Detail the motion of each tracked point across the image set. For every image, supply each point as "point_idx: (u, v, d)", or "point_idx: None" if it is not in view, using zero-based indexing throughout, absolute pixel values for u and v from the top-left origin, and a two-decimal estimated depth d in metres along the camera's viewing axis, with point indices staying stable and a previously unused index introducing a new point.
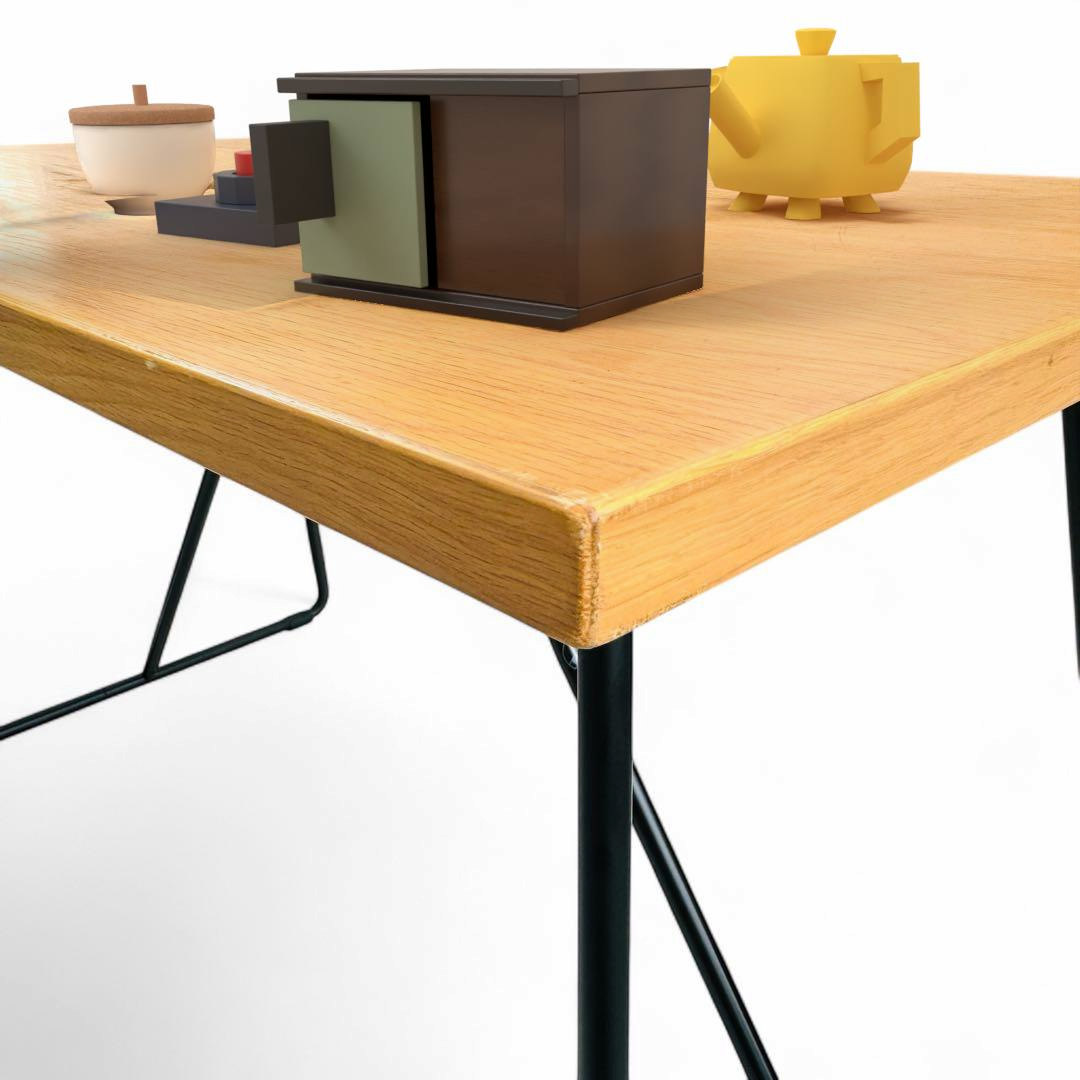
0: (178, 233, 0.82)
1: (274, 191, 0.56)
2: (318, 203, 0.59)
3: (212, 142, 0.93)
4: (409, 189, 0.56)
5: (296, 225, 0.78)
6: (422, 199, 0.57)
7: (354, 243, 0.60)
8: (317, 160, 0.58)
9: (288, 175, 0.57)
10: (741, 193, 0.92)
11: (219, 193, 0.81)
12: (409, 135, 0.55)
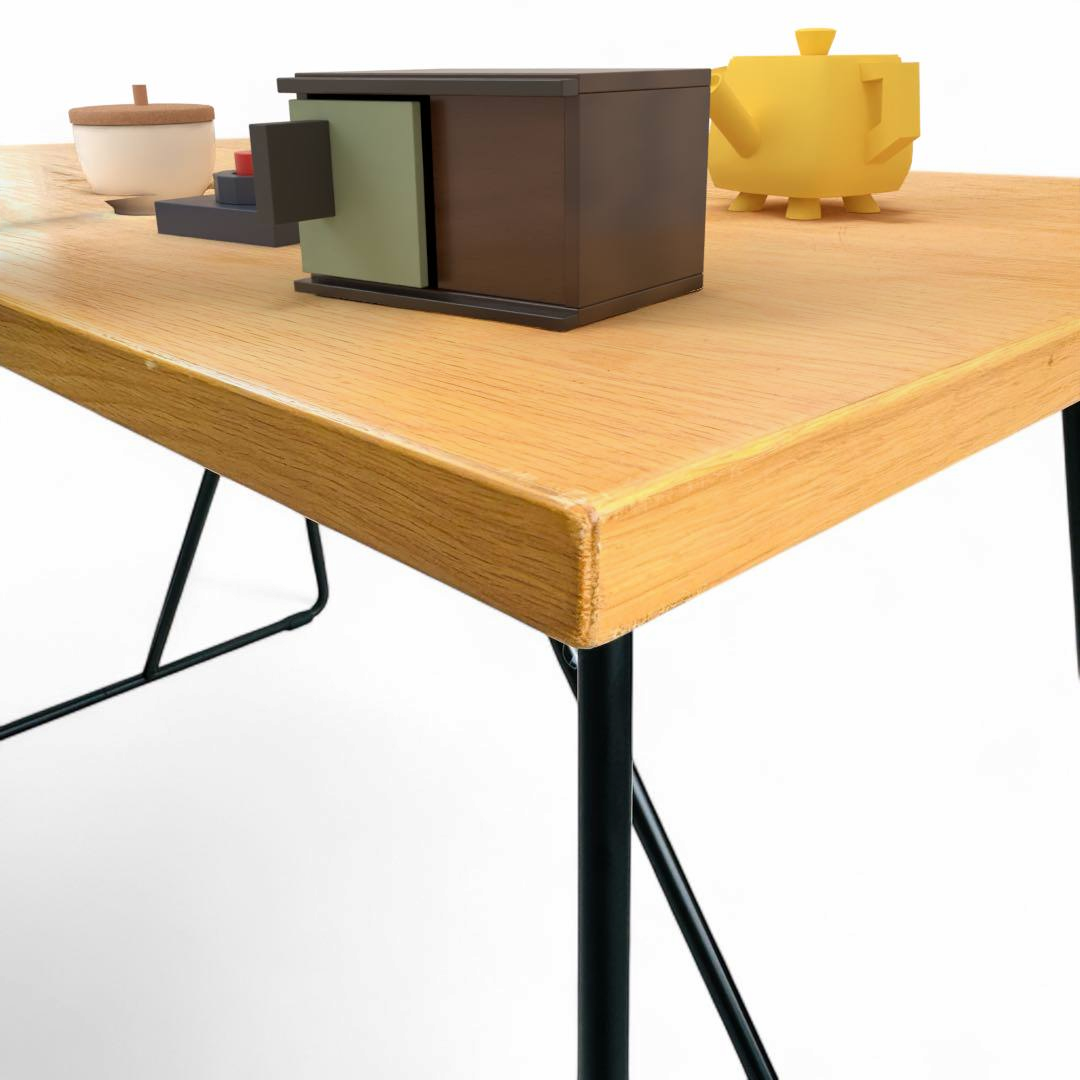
0: (178, 233, 0.82)
1: (274, 191, 0.56)
2: (318, 203, 0.59)
3: (211, 142, 0.93)
4: (409, 189, 0.56)
5: (296, 225, 0.78)
6: (422, 199, 0.57)
7: (354, 243, 0.60)
8: (317, 160, 0.58)
9: (288, 175, 0.57)
10: (741, 193, 0.92)
11: (219, 193, 0.81)
12: (409, 135, 0.55)
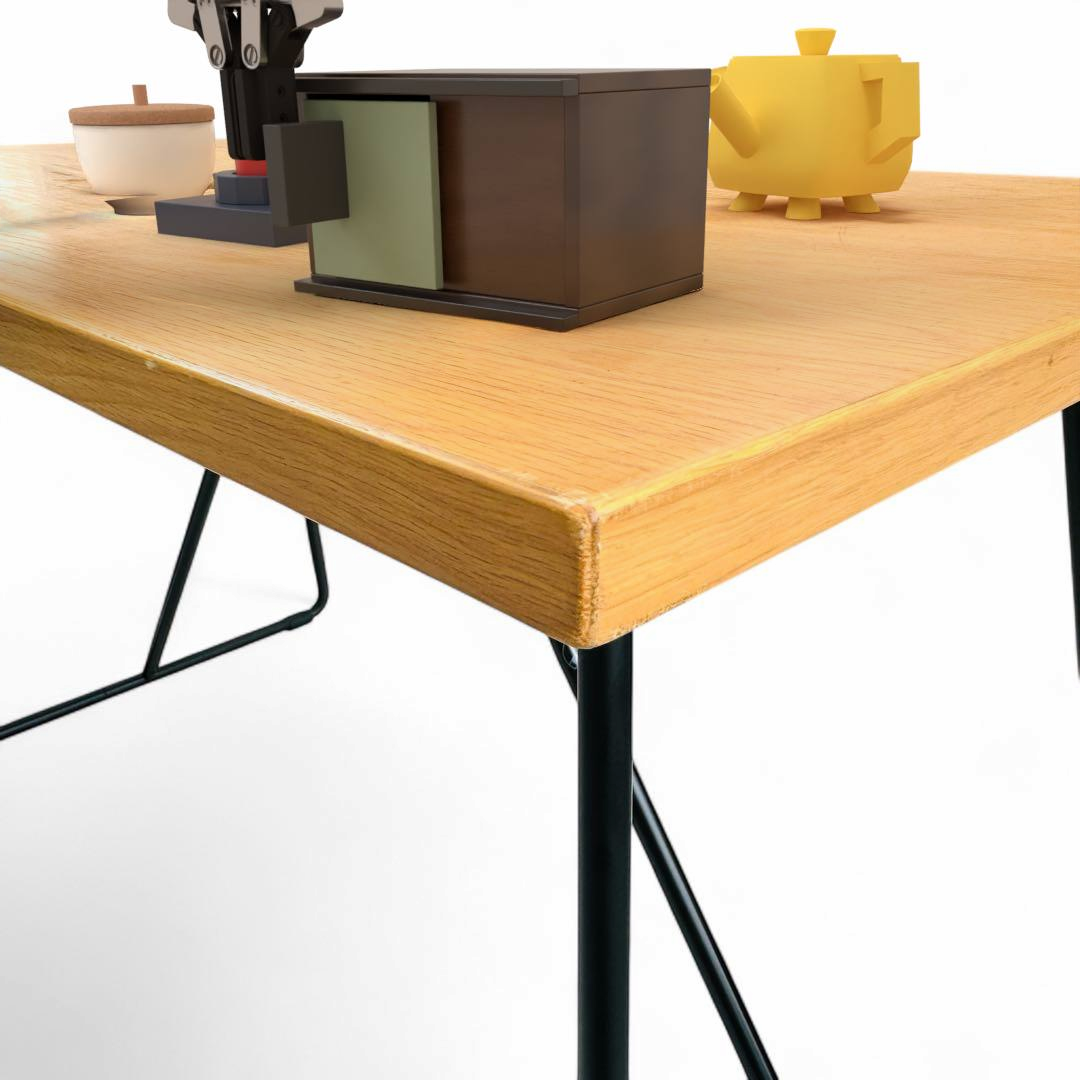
0: (178, 233, 0.82)
1: (288, 192, 0.56)
2: (332, 204, 0.58)
3: (211, 142, 0.93)
4: (425, 190, 0.56)
5: None
6: (437, 200, 0.56)
7: (368, 245, 0.59)
8: (331, 161, 0.58)
9: (302, 176, 0.56)
10: (741, 193, 0.92)
11: (219, 193, 0.81)
12: (425, 136, 0.55)
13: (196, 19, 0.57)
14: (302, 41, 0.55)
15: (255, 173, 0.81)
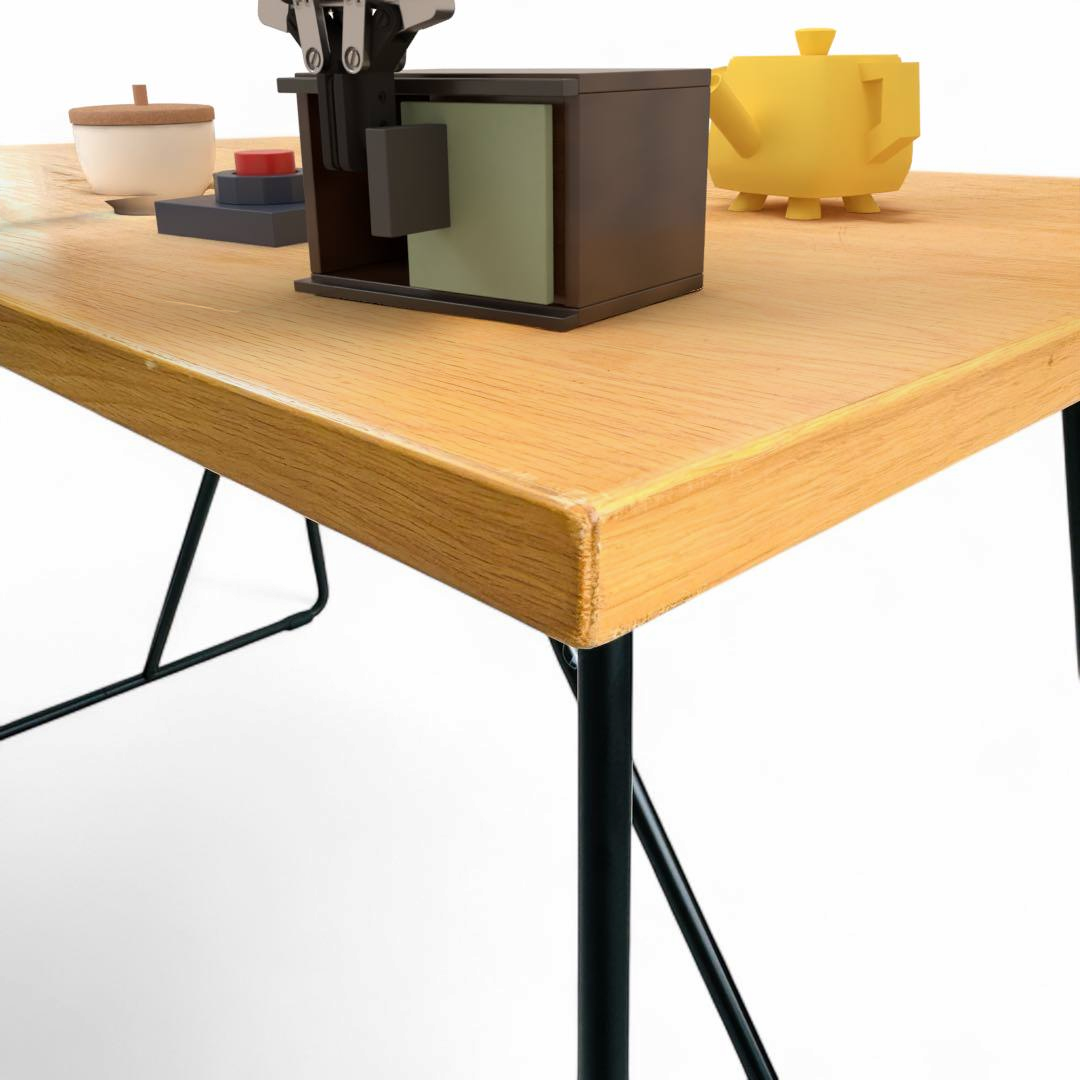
0: (178, 233, 0.82)
1: (391, 201, 0.52)
2: (434, 213, 0.55)
3: (211, 142, 0.93)
4: (538, 199, 0.52)
5: (296, 225, 0.78)
6: (551, 209, 0.52)
7: (471, 256, 0.55)
8: (434, 167, 0.54)
9: (405, 183, 0.53)
10: (741, 193, 0.92)
11: (219, 193, 0.81)
12: (540, 140, 0.51)
13: (291, 20, 0.53)
14: (407, 44, 0.52)
15: (255, 173, 0.81)
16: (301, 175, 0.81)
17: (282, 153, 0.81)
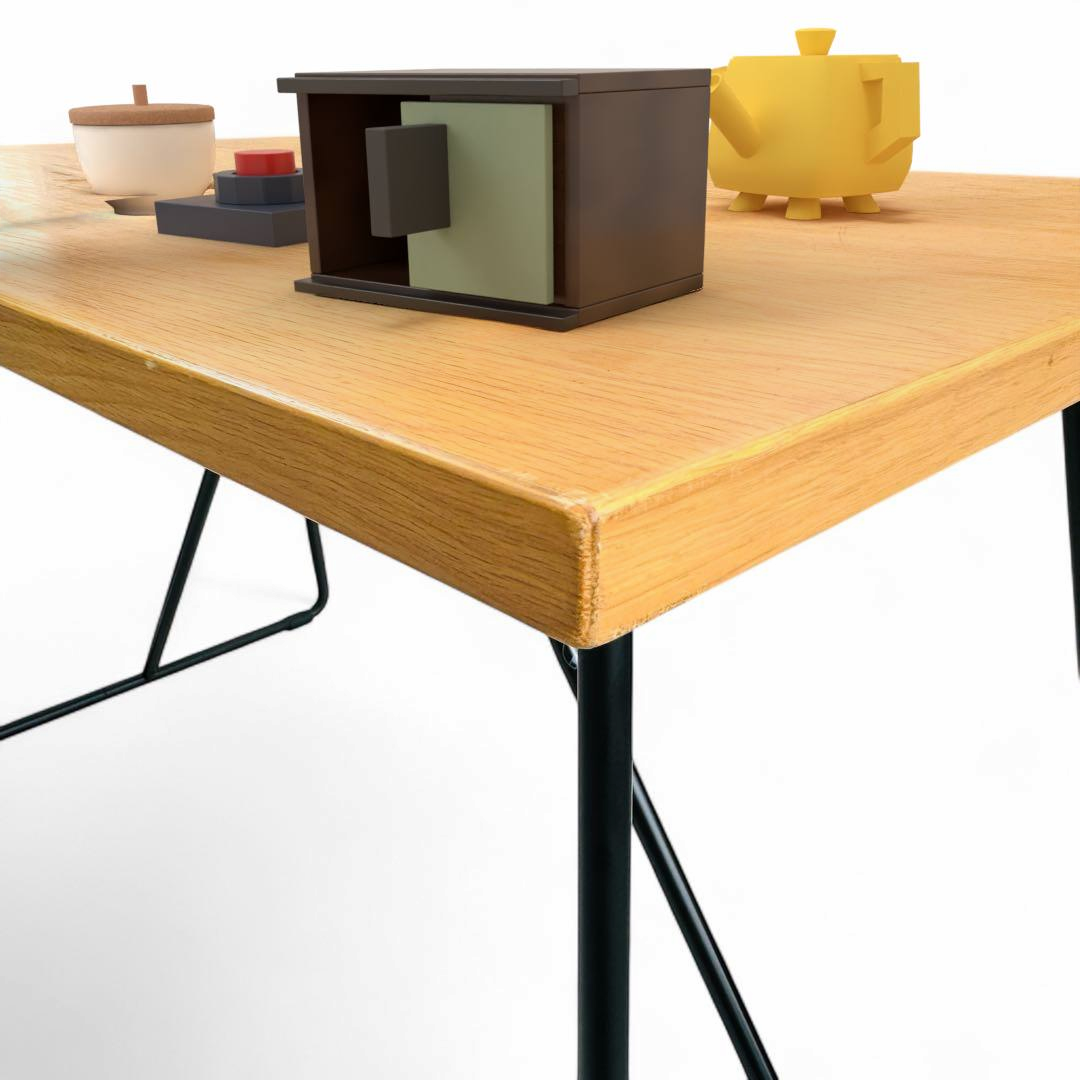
0: (178, 233, 0.82)
1: (391, 201, 0.52)
2: (434, 213, 0.55)
3: (211, 142, 0.93)
4: (538, 199, 0.52)
5: (296, 225, 0.78)
6: (551, 209, 0.52)
7: (471, 256, 0.55)
8: (434, 167, 0.54)
9: (405, 183, 0.53)
10: (741, 193, 0.92)
11: (219, 193, 0.81)
12: (540, 140, 0.51)
13: None
14: None
15: (255, 173, 0.81)
16: (301, 175, 0.81)
17: (282, 153, 0.81)
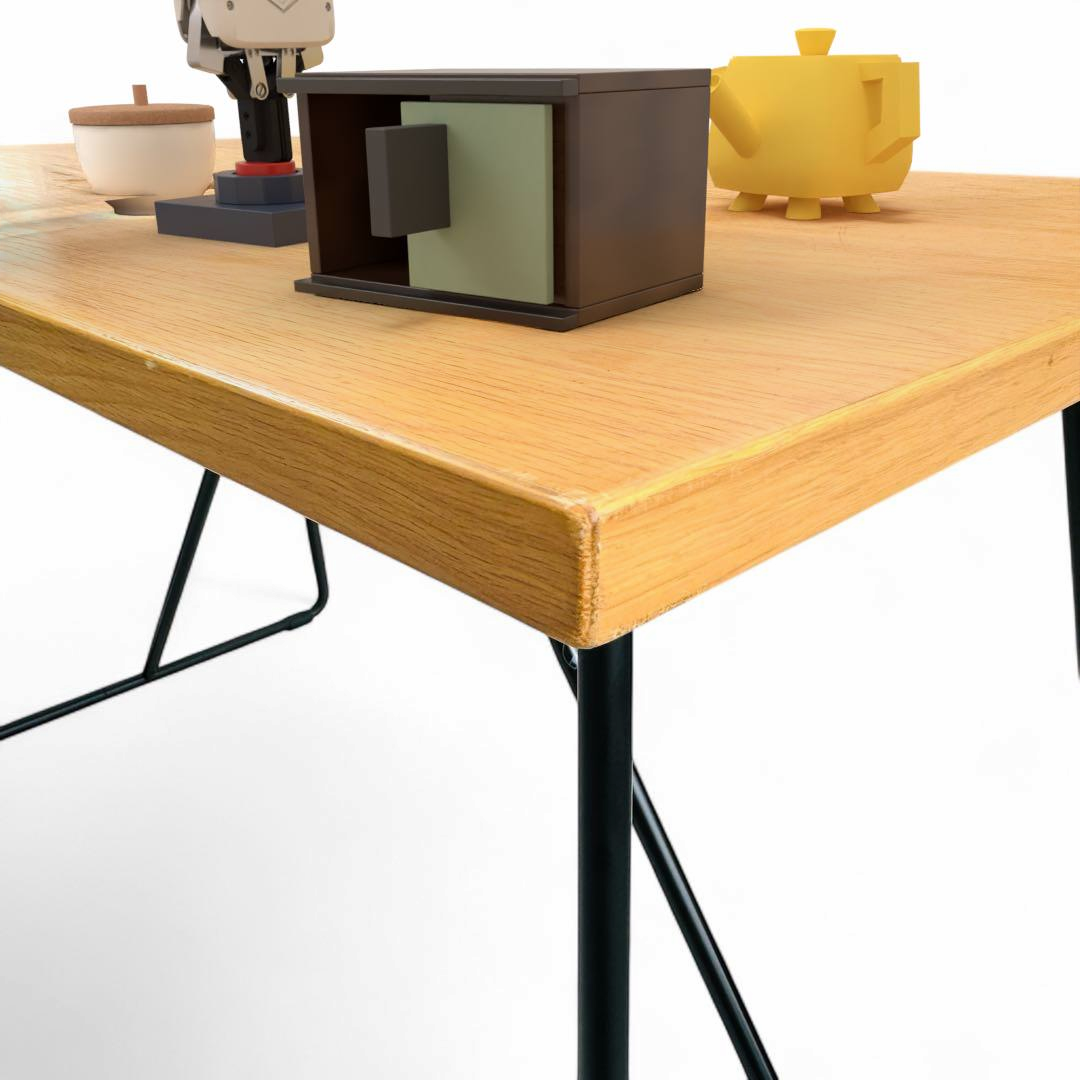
0: (178, 233, 0.82)
1: (391, 201, 0.52)
2: (434, 213, 0.55)
3: (211, 142, 0.93)
4: (538, 199, 0.52)
5: (296, 225, 0.78)
6: (551, 209, 0.52)
7: (471, 256, 0.55)
8: (434, 167, 0.54)
9: (405, 183, 0.53)
10: (741, 193, 0.92)
11: (219, 193, 0.81)
12: (540, 140, 0.51)
13: (232, 65, 0.77)
14: None
15: None
16: (301, 175, 0.81)
17: (283, 163, 0.81)
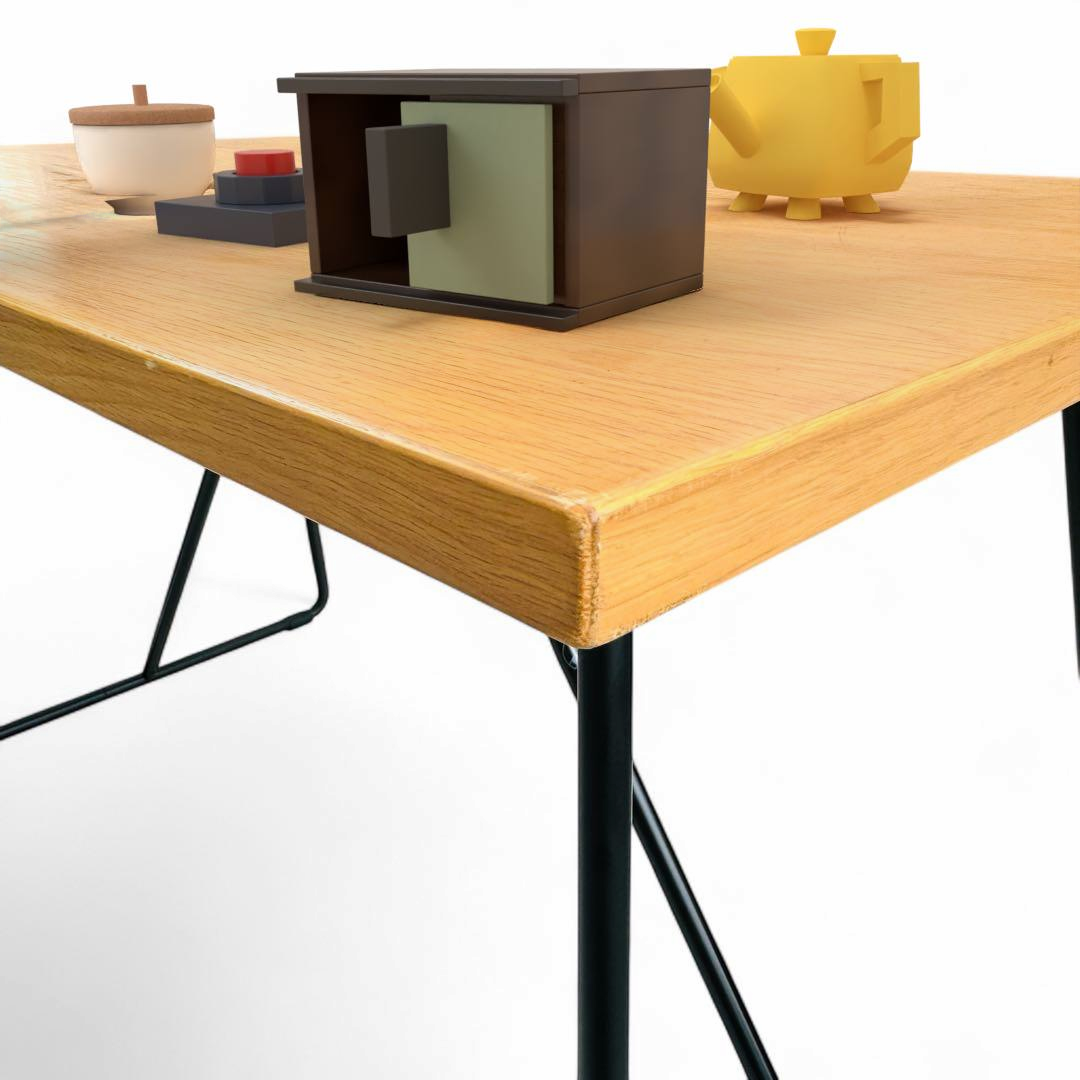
0: (178, 233, 0.82)
1: (391, 201, 0.52)
2: (434, 213, 0.55)
3: (211, 142, 0.93)
4: (538, 199, 0.52)
5: (296, 225, 0.78)
6: (551, 209, 0.52)
7: (471, 256, 0.55)
8: (434, 167, 0.54)
9: (405, 183, 0.53)
10: (741, 193, 0.92)
11: (219, 193, 0.81)
12: (540, 140, 0.51)
13: None
14: None
15: (255, 173, 0.81)
16: (301, 175, 0.81)
17: (282, 153, 0.81)
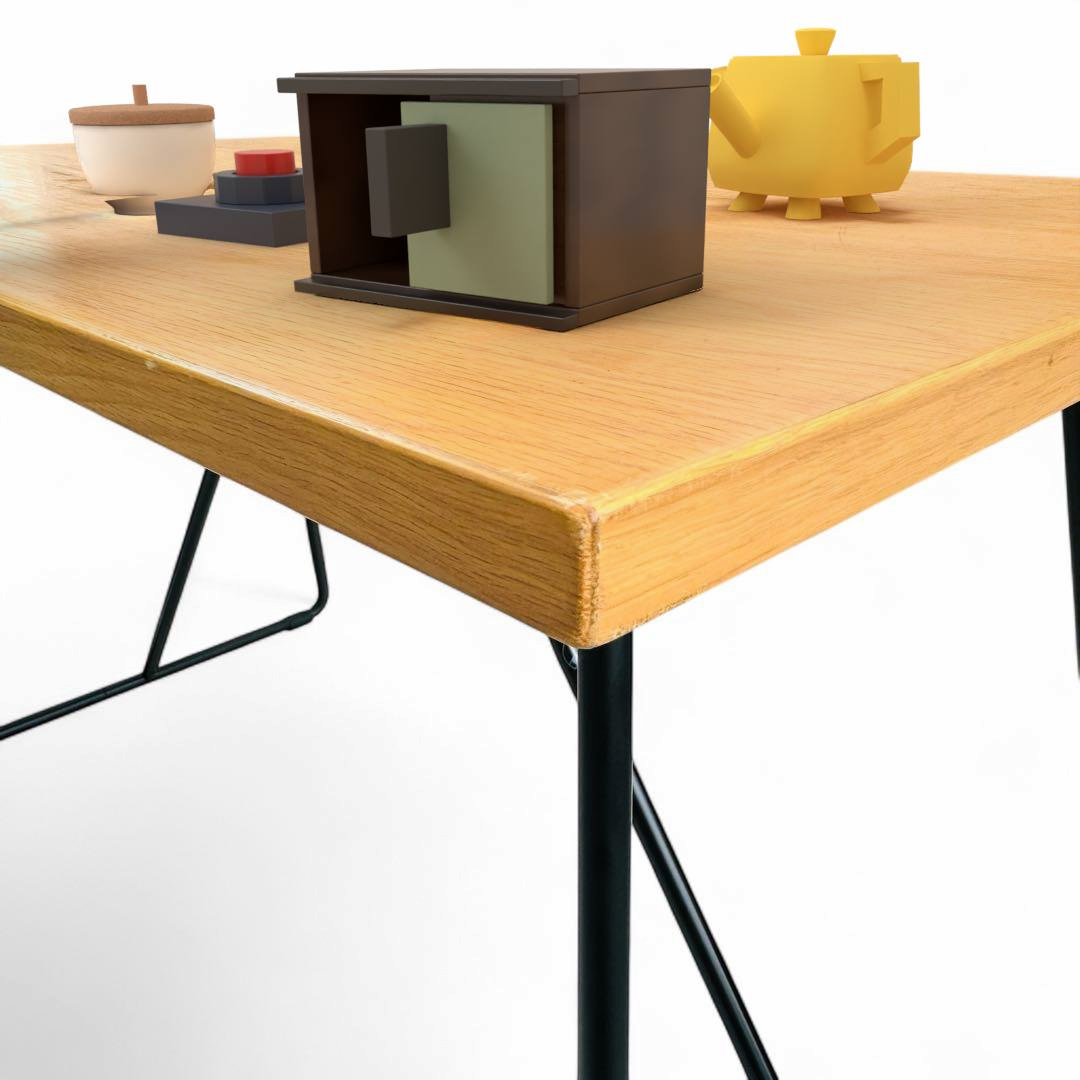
0: (178, 233, 0.82)
1: (391, 201, 0.52)
2: (434, 213, 0.55)
3: (212, 142, 0.93)
4: (538, 199, 0.52)
5: (296, 225, 0.78)
6: (551, 209, 0.52)
7: (471, 256, 0.55)
8: (434, 167, 0.54)
9: (405, 183, 0.53)
10: (741, 193, 0.92)
11: (219, 193, 0.81)
12: (540, 140, 0.51)
13: None
14: None
15: (255, 173, 0.81)
16: (301, 175, 0.81)
17: (282, 153, 0.81)
